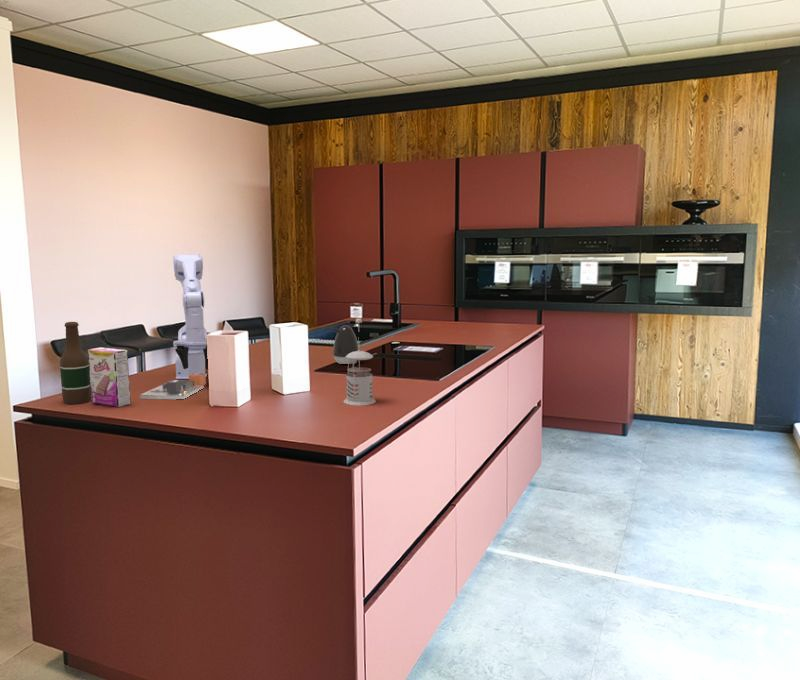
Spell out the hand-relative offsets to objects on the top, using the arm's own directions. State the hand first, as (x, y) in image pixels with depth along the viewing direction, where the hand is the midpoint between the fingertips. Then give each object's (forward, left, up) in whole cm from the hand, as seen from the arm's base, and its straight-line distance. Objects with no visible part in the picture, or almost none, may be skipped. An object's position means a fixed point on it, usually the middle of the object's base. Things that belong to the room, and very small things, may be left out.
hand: (196, 368), depth 216 cm
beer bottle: (-27, -24, -6) cm, 37 cm away
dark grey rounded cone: (+41, +46, -6) cm, 62 cm away
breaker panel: (-3, -11, -6) cm, 13 cm away
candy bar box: (-15, -26, -6) cm, 31 cm away
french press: (+57, -14, -6) cm, 59 cm away
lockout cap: (0, 0, -6) cm, 6 cm away
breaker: (-1, -14, -4) cm, 15 cm away
